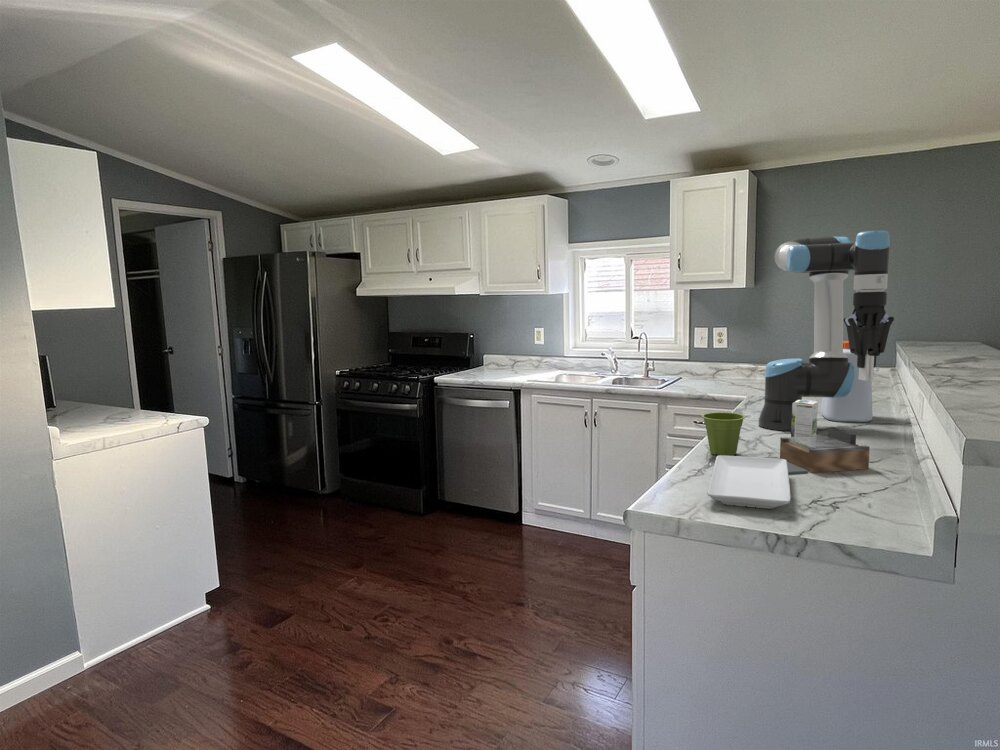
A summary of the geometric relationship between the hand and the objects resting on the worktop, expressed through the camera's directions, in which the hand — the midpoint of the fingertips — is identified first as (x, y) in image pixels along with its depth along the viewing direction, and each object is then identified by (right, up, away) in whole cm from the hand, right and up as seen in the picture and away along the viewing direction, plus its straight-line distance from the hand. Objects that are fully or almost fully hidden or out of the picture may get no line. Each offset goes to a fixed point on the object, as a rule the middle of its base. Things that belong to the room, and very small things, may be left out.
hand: (865, 379), depth 160 cm
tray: (-39, -26, -18) cm, 50 cm away
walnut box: (-11, -23, +1) cm, 25 cm away
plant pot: (-33, -22, +15) cm, 42 cm away
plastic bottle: (+28, -15, +57) cm, 65 cm away
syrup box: (-8, -21, +16) cm, 28 cm away
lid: (-11, -18, +1) cm, 21 cm away
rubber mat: (-28, -23, 0) cm, 36 cm away
